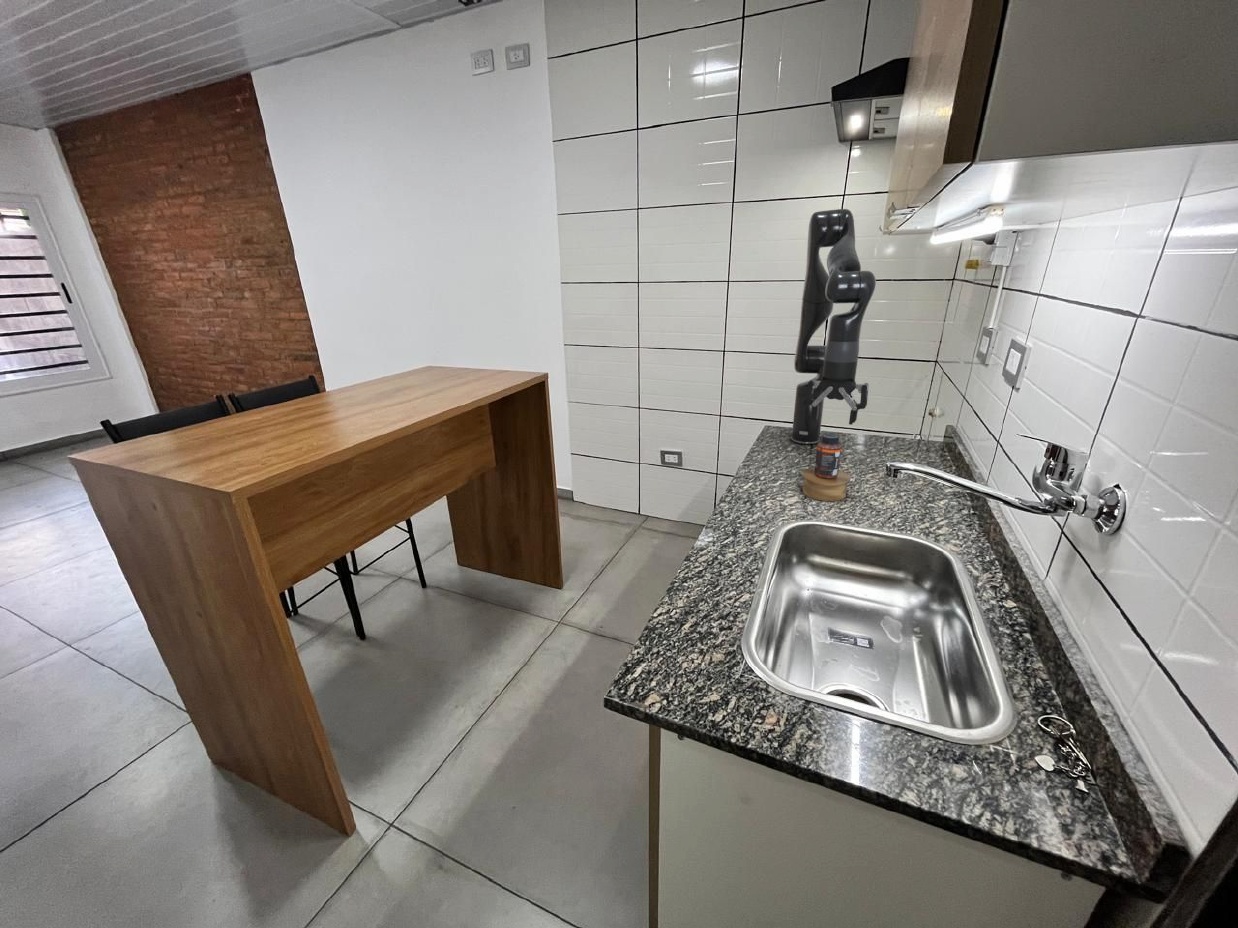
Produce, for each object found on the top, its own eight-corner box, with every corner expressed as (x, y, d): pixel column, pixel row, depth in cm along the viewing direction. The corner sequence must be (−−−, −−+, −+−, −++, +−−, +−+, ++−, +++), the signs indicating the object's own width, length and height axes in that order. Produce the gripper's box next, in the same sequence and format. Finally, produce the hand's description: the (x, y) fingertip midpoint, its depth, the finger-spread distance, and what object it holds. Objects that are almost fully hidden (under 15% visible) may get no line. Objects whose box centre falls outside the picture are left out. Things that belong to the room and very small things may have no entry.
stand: (806, 480, 140) (808, 464, 138) (851, 488, 133) (854, 472, 132) (795, 496, 130) (797, 479, 129) (843, 505, 124) (845, 487, 122)
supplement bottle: (841, 479, 127) (847, 438, 123) (818, 480, 127) (823, 439, 123) (832, 470, 133) (837, 431, 129) (810, 471, 133) (815, 432, 129)
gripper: (875, 357, 118) (865, 421, 124) (814, 354, 125) (807, 415, 131) (870, 362, 112) (860, 429, 118) (807, 359, 119) (800, 422, 125)
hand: (832, 421), depth 125 cm, fingers open, 8 cm apart
